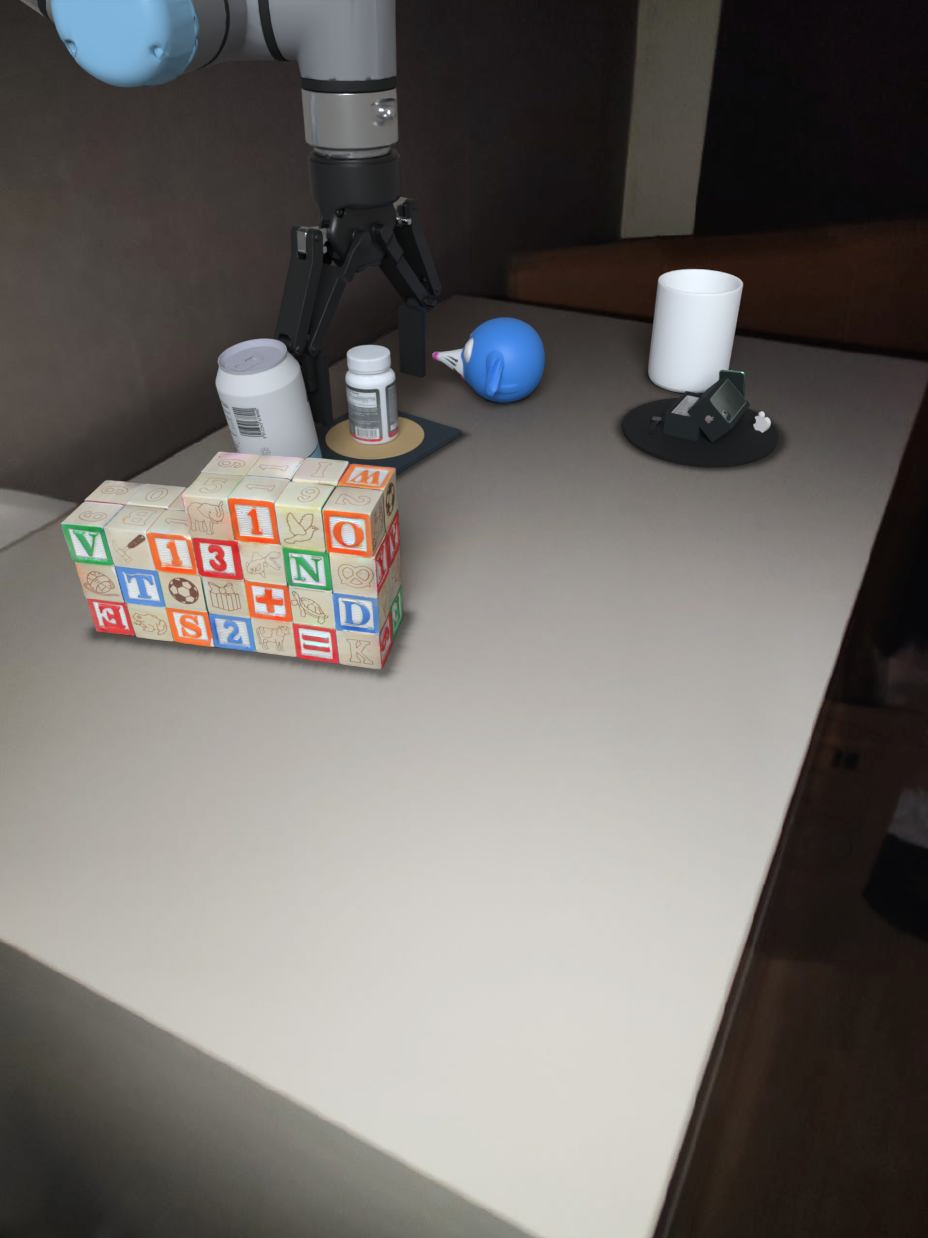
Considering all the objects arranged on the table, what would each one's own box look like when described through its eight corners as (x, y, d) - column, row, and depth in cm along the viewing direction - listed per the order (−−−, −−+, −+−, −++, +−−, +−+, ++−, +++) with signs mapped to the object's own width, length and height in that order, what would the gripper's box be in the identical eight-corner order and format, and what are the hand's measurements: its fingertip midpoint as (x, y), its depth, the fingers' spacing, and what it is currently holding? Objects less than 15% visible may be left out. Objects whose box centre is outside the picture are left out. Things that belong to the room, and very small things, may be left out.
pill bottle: (384, 420, 91) (378, 338, 86) (408, 438, 88) (403, 353, 83) (341, 432, 89) (333, 349, 84) (364, 450, 86) (357, 365, 81)
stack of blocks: (93, 635, 65) (44, 481, 58) (135, 585, 70) (94, 438, 62) (383, 670, 62) (371, 511, 54) (406, 616, 66) (397, 463, 59)
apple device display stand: (753, 481, 82) (764, 424, 79) (599, 445, 88) (603, 391, 85) (794, 418, 93) (806, 366, 89) (653, 390, 99) (660, 340, 95)
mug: (736, 360, 105) (752, 264, 99) (719, 400, 96) (736, 297, 90) (662, 351, 108) (673, 256, 101) (639, 389, 99) (650, 288, 92)
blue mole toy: (444, 372, 103) (442, 297, 98) (549, 379, 101) (552, 302, 96) (420, 417, 94) (417, 336, 89) (535, 425, 92) (539, 343, 87)
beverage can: (341, 475, 80) (312, 349, 72) (279, 512, 77) (241, 385, 69) (294, 449, 84) (262, 327, 76) (233, 484, 81) (192, 360, 73)
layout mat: (191, 499, 80) (190, 493, 80) (368, 406, 96) (368, 400, 96) (289, 541, 75) (288, 534, 74) (461, 435, 90) (460, 428, 90)
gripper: (276, 181, 64) (306, 456, 77) (479, 131, 80) (476, 364, 93) (203, 167, 67) (243, 432, 80) (412, 122, 83) (418, 348, 96)
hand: (368, 396), depth 86 cm, fingers open, 13 cm apart
